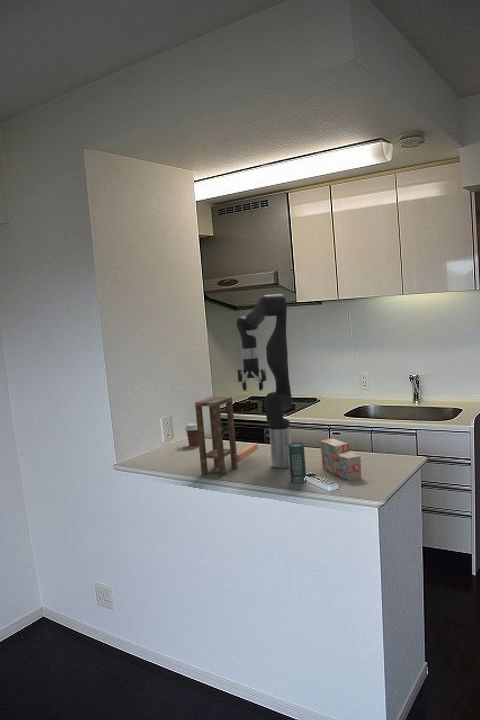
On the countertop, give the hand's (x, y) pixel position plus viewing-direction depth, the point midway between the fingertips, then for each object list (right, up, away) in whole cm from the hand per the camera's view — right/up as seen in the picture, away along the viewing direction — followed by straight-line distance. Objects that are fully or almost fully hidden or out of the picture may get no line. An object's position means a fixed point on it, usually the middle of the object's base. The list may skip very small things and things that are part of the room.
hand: (252, 390), depth 276 cm
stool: (-15, -34, -26) cm, 45 cm away
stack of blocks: (+36, -32, -42) cm, 64 cm away
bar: (-3, -31, -2) cm, 31 cm away
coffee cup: (-30, -31, +22) cm, 48 cm away
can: (+17, -34, -48) cm, 61 cm away
